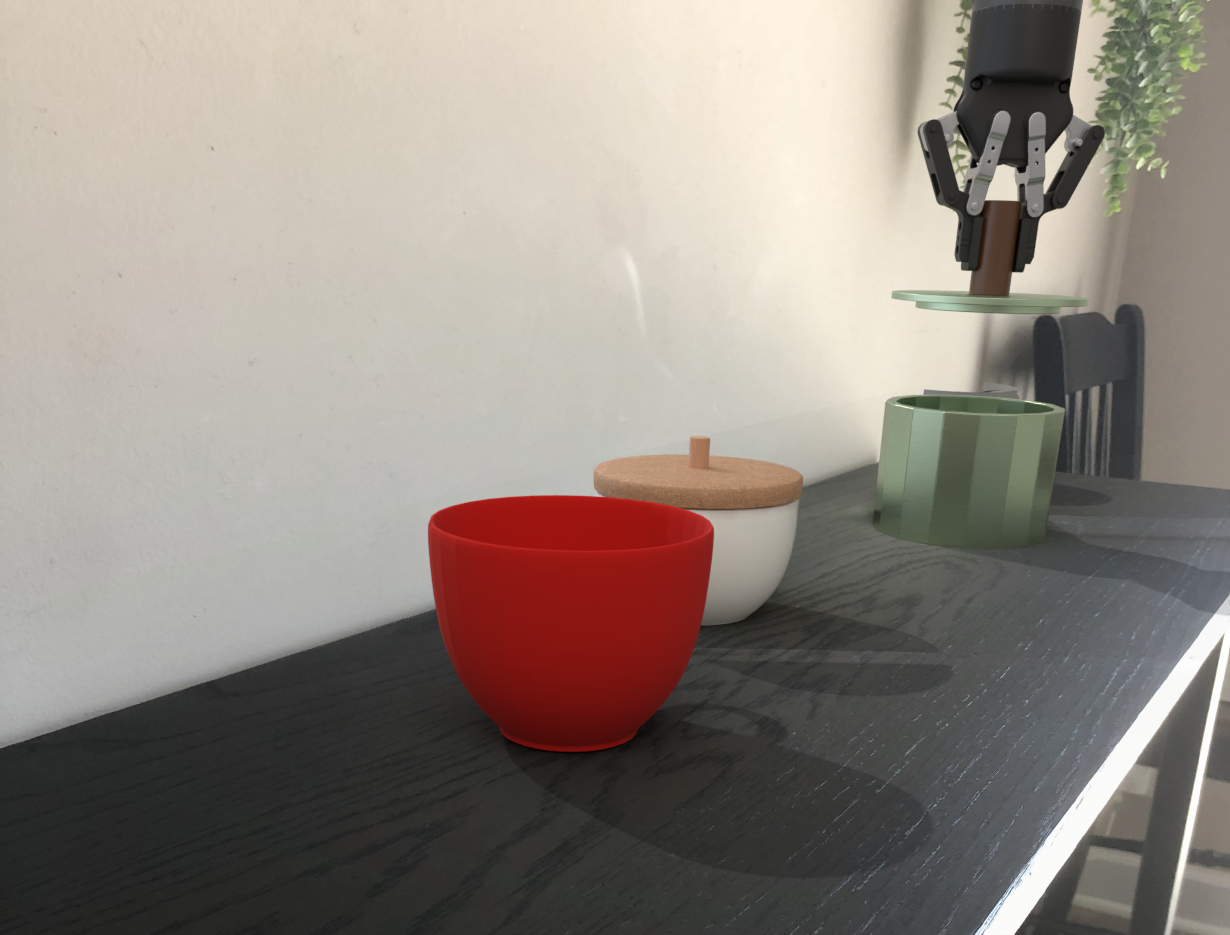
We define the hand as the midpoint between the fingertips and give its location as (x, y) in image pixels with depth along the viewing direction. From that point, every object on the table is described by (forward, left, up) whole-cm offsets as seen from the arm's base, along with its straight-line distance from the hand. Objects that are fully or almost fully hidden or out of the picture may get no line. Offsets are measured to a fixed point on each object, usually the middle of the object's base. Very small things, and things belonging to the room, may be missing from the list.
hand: (992, 270), depth 101 cm
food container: (-6, -18, -21) cm, 28 cm away
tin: (0, 0, -20) cm, 20 cm away
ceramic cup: (+31, +46, -20) cm, 59 cm away
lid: (0, 0, -2) cm, 2 cm away
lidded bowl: (+24, +27, -20) cm, 41 cm away
